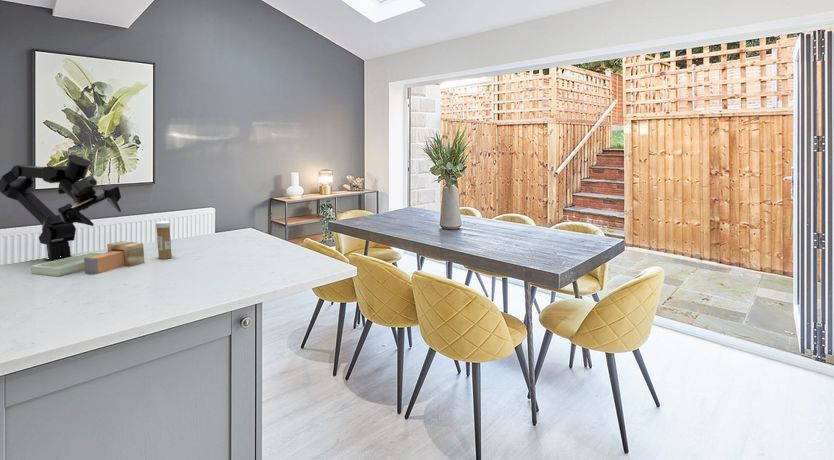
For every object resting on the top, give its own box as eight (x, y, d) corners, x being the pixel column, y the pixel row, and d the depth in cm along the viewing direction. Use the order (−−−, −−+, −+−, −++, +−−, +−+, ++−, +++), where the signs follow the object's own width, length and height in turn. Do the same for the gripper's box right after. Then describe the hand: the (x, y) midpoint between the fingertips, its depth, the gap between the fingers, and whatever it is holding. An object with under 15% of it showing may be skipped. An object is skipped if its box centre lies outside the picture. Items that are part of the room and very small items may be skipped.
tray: (31, 273, 146) (30, 265, 146) (93, 258, 167) (92, 251, 167) (59, 276, 144) (58, 269, 144) (118, 260, 165) (117, 254, 164)
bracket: (108, 264, 160) (107, 244, 159) (123, 260, 166) (121, 241, 164) (130, 266, 158) (128, 246, 157) (144, 262, 164) (143, 243, 162)
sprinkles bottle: (172, 258, 170) (170, 222, 168) (158, 259, 168) (156, 223, 165) (171, 255, 174) (169, 220, 172) (157, 257, 172) (155, 221, 169)
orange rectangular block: (85, 272, 149) (84, 257, 148) (122, 262, 162) (121, 249, 161) (95, 274, 148) (94, 258, 147) (131, 263, 161) (130, 249, 160)
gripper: (39, 186, 144) (71, 216, 141) (99, 162, 156) (130, 188, 153) (49, 209, 152) (80, 238, 149) (106, 184, 164) (135, 210, 161)
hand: (107, 217), depth 153 cm, fingers open, 9 cm apart
